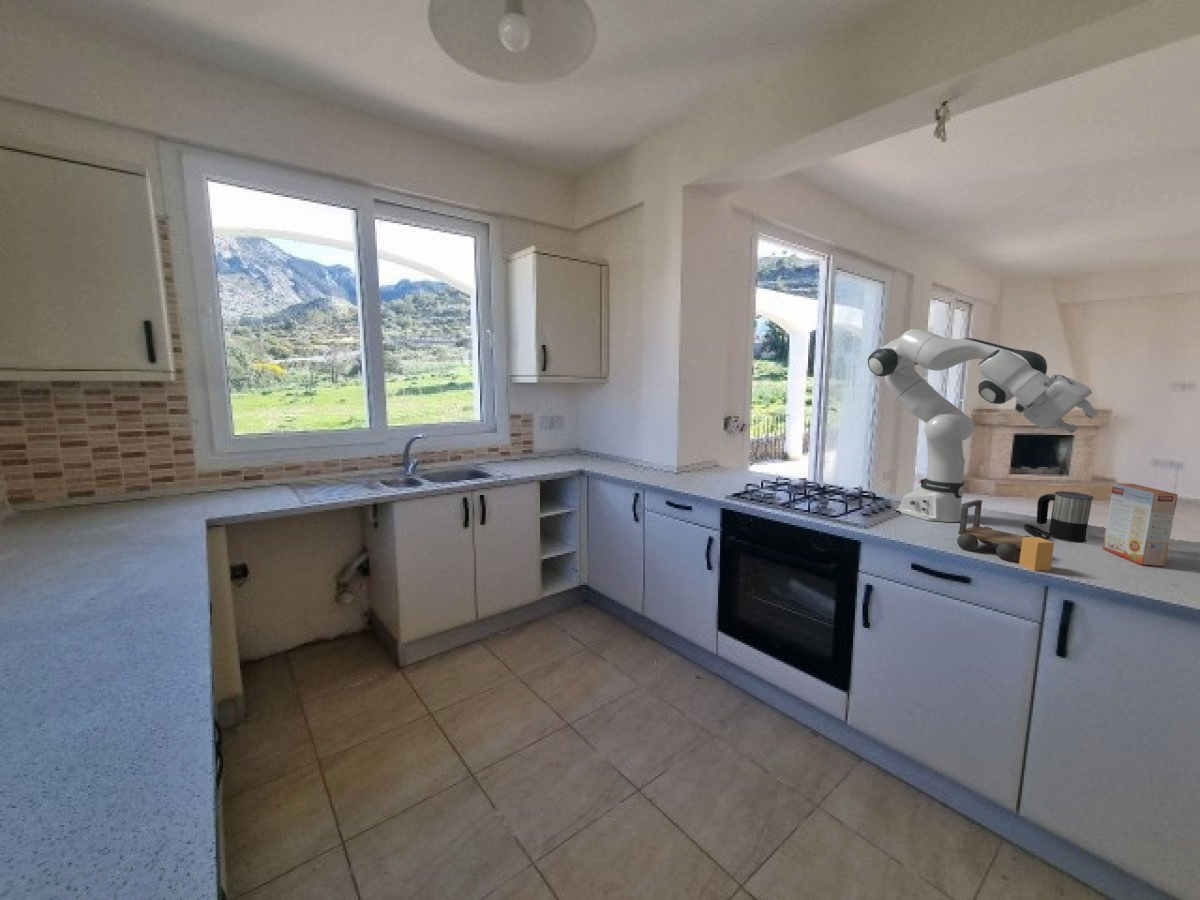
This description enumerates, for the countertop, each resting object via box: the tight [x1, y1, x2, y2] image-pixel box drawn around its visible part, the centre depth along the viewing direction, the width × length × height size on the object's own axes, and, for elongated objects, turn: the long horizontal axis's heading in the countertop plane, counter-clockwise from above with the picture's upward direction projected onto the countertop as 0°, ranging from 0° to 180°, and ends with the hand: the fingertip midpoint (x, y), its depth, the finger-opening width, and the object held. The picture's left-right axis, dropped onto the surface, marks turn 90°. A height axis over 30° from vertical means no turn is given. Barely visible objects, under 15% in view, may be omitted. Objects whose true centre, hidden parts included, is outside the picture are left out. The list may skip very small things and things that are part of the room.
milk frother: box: [1023, 490, 1094, 543], centre depth 161 cm, size 14×16×15 cm
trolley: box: [956, 499, 1031, 562], centre depth 148 cm, size 16×14×14 cm
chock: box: [1018, 536, 1055, 572], centre depth 136 cm, size 5×5×8 cm
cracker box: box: [1102, 482, 1179, 567], centre depth 143 cm, size 14×6×21 cm, turn 168°
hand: (1084, 423), depth 135 cm, fingers open, 8 cm apart
